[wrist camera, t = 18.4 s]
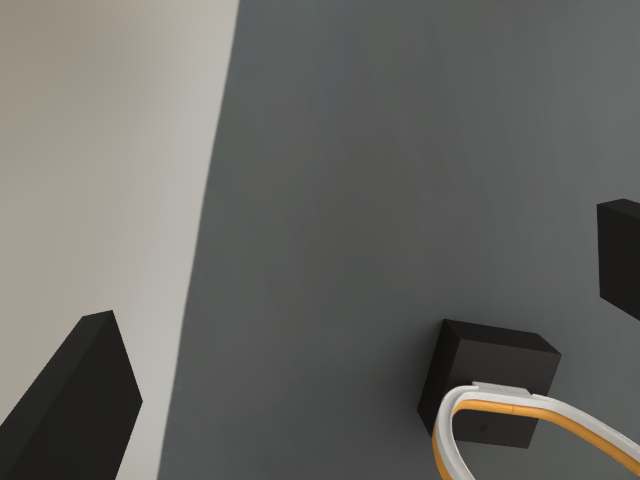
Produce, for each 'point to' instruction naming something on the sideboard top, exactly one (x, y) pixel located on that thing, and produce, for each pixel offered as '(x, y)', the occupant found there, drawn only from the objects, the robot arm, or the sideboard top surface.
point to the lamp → (500, 396)
